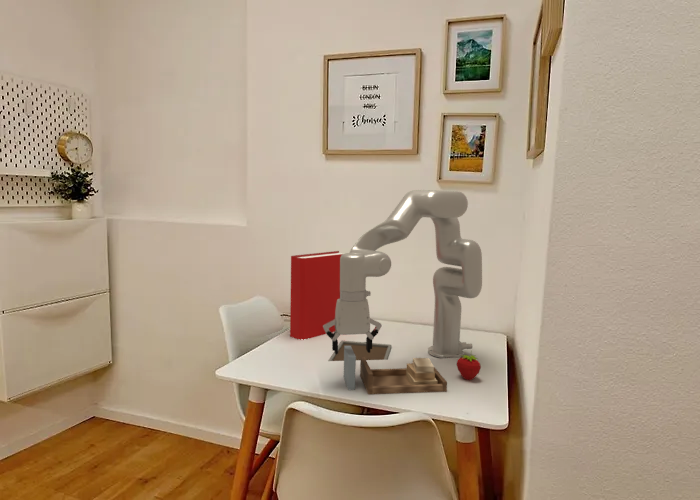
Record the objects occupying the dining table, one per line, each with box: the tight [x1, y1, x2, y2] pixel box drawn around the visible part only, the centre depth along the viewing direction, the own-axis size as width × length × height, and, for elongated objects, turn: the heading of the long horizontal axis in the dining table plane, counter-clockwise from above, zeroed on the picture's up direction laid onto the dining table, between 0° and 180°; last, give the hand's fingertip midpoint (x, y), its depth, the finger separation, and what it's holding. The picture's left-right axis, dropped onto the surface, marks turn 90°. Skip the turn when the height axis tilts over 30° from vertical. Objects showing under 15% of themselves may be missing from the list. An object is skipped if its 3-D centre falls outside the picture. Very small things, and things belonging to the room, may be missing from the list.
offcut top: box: [412, 357, 435, 373], centre depth 144 cm, size 5×7×2 cm
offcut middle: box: [406, 362, 435, 381], centre depth 145 cm, size 6×8×2 cm
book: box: [289, 250, 344, 341], centre depth 196 cm, size 27×8×32 cm, turn 136°
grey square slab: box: [343, 346, 357, 391], centre depth 143 cm, size 2×10×11 cm, turn 8°
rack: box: [359, 357, 448, 395], centre depth 144 cm, size 23×14×7 cm, turn 98°
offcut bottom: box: [406, 371, 438, 385], centre depth 145 cm, size 7×9×2 cm
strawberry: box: [456, 349, 482, 381], centre depth 149 cm, size 6×8×10 cm
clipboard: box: [327, 340, 392, 362], centre depth 170 cm, size 19×2×30 cm
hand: (352, 351), depth 143 cm, fingers open, 9 cm apart
